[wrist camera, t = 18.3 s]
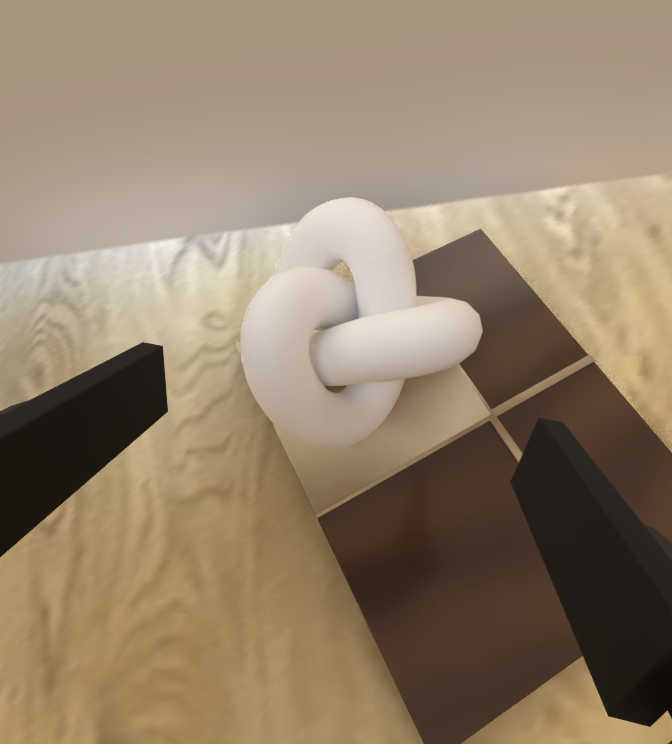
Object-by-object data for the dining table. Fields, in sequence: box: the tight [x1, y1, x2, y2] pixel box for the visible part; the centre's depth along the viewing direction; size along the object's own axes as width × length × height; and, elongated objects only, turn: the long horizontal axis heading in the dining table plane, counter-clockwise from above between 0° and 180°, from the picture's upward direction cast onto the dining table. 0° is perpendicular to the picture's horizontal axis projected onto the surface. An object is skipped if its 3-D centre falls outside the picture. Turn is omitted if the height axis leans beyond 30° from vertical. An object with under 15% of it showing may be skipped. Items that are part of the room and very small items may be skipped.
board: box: [234, 229, 672, 744], centre depth 22 cm, size 24×20×2 cm
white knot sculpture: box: [240, 197, 483, 448], centre depth 19 cm, size 11×12×9 cm
